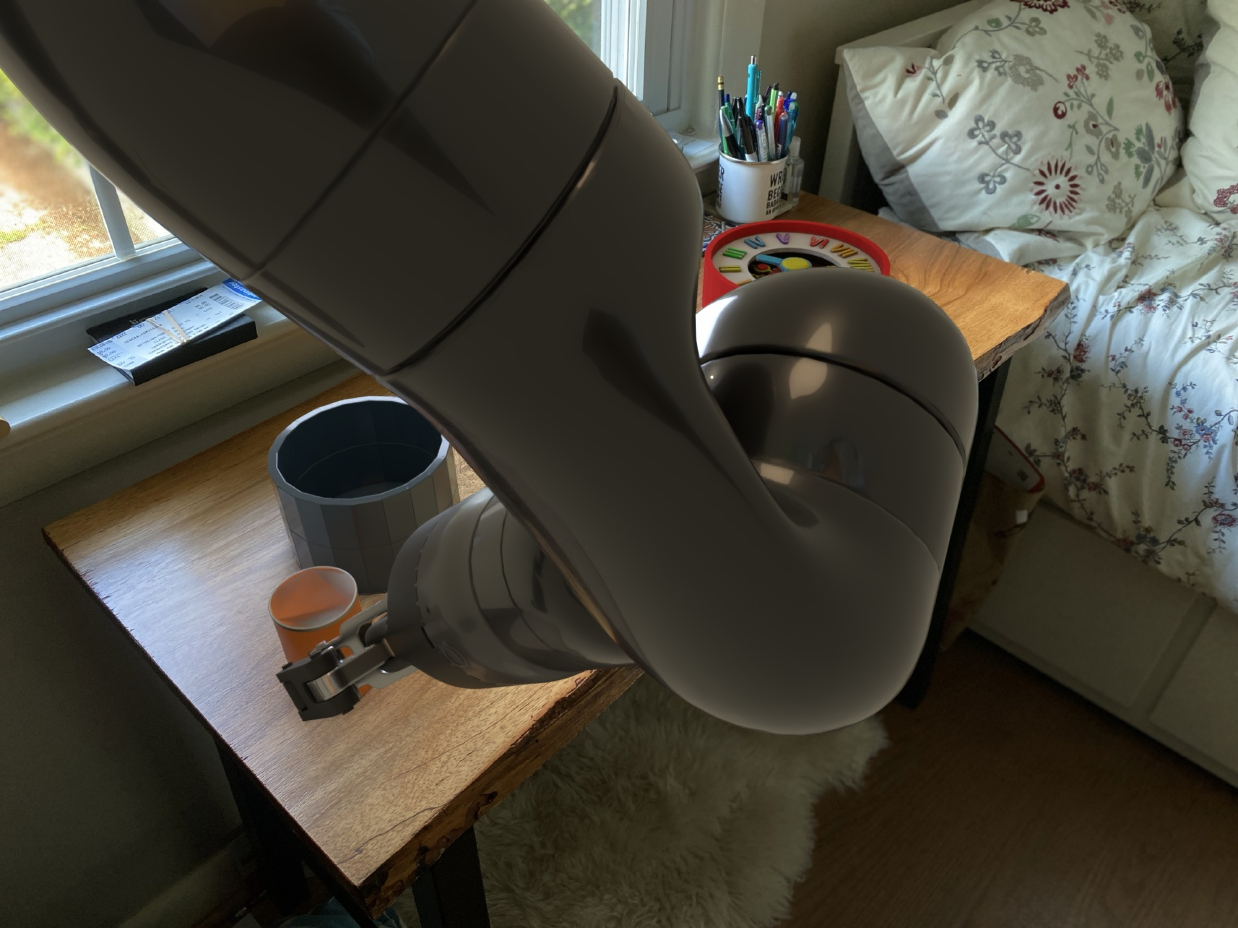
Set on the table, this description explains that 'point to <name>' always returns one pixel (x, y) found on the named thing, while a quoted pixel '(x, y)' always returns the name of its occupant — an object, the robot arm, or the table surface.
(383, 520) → the pot
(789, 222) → the toy clock
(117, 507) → the table surface
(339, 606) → the orange tin
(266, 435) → the table surface
